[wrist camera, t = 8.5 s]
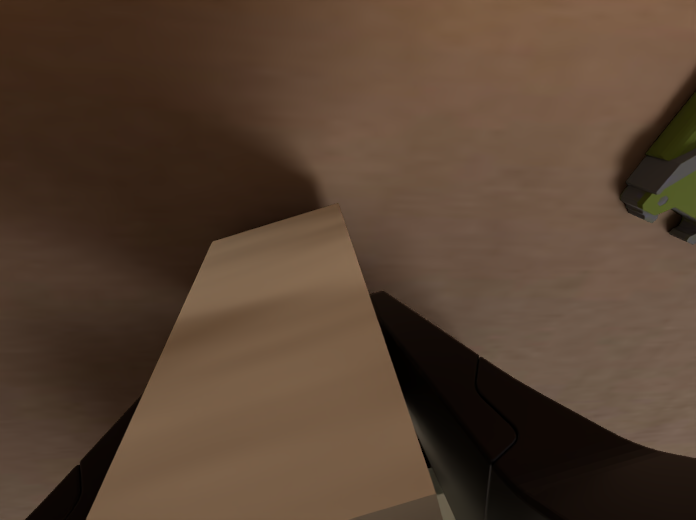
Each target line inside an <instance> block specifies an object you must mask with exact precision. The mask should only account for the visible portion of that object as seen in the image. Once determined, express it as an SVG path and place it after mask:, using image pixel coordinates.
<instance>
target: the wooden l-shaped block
mask: <svg viewBox="0 0 696 520" xmlns="http://www.w3.org/2000/svg"><path fill="white" fill-rule="evenodd" d="M86 520H443V518H442V514H441V510H440V507H439V503H438V499H437V495H436V492H435V489H434V486H433V483H432V480H431V477H430V474H429V471H428V468H427V465H426V462H425V459H424V456H423V453H422V450H421V447H420V444H419V441H418V438H417V435H416V432H415V429H414V426H413V423H412V420H411V417H410V414H409V412H408V409H407V406H406V403H405V400H404V397H403V394H402V391H401V388H400V385H399V382H398V379H397V376H396V373H395V370H394V367H393V364H392V361H391V358H390V355H389V352H388V349H387V346H386V343H385V340H384V337H383V334H382V331H381V328H380V325H379V322H378V320H377V317H376V314H375V311H374V308H373V305H372V302H371V299H370V296H369V293H368V290H367V287H366V284H365V281H364V278H363V275H362V272H361V269H360V266H359V263H358V260H357V257H356V254H355V251H354V248H353V245H352V242H351V239H350V236H349V233H348V230H347V227H346V225H345V222H344V219H343V216H342V213H341V210H340V207H339V204H338V203H336V204H333V205H330V206H327V207H323V208H320V209H317V210H314V211H310V212H307V213H304V214H301V215H297V216H294V217H291V218H288V219H284V220H281V221H278V222H275V223H271V224H268V225H265V226H262V227H258V228H255V229H252V230H248V231H245V232H242V233H239V234H235V235H232V236H229V237H226V238H222V239H219V240H216V241H213V242H212V243H211V246H210V248H209V250H208V252H207V254H206V257H205V259H204V261H203V263H202V265H201V268H200V270H199V272H198V274H197V276H196V279H195V281H194V283H193V285H192V287H191V290H190V292H189V294H188V296H187V298H186V301H185V303H184V305H183V307H182V309H181V312H180V314H179V316H178V318H177V320H176V323H175V325H174V327H173V329H172V331H171V334H170V336H169V338H168V340H167V342H166V345H165V347H164V349H163V351H162V353H161V356H160V358H159V360H158V362H157V364H156V367H155V369H154V371H153V373H152V375H151V378H150V380H149V382H148V384H147V386H146V389H145V391H144V393H143V395H142V397H141V400H140V402H139V404H138V406H137V408H136V411H135V413H134V415H133V417H132V419H131V422H130V424H129V426H128V428H127V430H126V433H125V435H124V437H123V439H122V441H121V444H120V446H119V448H118V450H117V452H116V455H115V457H114V459H113V461H112V463H111V466H110V468H109V470H108V472H107V474H106V477H105V479H104V481H103V483H102V485H101V488H100V490H99V492H98V494H97V496H96V499H95V501H94V503H93V505H92V507H91V510H90V512H89V514H88V516H87V518H86Z"/></svg>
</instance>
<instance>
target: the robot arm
mask: <svg viewBox="0 0 696 520" xmlns="http://www.w3.org/2000/svg"><path fill="white" fill-rule="evenodd" d="M369 296H370V299H371V302H372V305H373V308H374V311H375V314H376V317H377V320H378V322H379V325H380V328H381V331H382V334H383V337H384V340H385V343H386V346H387V349H388V352H389V355H390V358H391V361H392V364H393V367H394V370H395V373H396V376H397V379H398V382H399V385H400V388H401V391H402V394H403V397H404V400H405V403H406V406H407V409H408V412H409V414H410V417H411V420H412V423H413V426H414V429H415V432H416V434H417V436H418V438H419V440H420V443H421V445H422V447H423V449H424V451H425V454H426V456H427V458H428V460H429V462H430V465H431V467H432V469H433V471H434V473H435V476H436V478H437V480H438V482H439V484H440V487H441V489H442V491H443V493H444V495H445V498H446V500H447V502H448V504H449V506H450V509H451V511H452V513H453V515H454V517H455V520H696V458H692V457H687V456H682V455H676V454H671V453H666V452H662V451H658V450H655V449H651V448H648V447H645V446H642V445H640V444H637V443H634V442H632V441H630V440H627V439H625V438H623V437H620V436H618V435H616V434H615V433H613V432H611V431H609V430H607V429H605V428H603V427H601V426H599V425H598V424H596V423H594V422H592V421H590V420H588V419H587V418H585V417H583V416H581V415H579V414H577V413H576V412H574V411H572V410H570V409H568V408H566V407H565V406H563V405H561V404H559V403H557V402H555V401H554V400H552V399H550V398H548V397H546V396H544V395H543V394H541V393H539V392H537V391H536V390H534V389H532V388H530V387H529V386H527V385H525V384H523V383H522V382H520V381H518V380H516V379H515V378H513V377H512V376H510V375H509V374H507V373H505V372H504V371H502V370H501V369H499V368H498V367H496V366H494V365H493V364H492V363H490V362H489V361H487V360H486V359H484V358H483V357H480V358H479V355H478V354H476V353H475V352H474V351H472V350H471V349H469V348H468V347H466V346H465V345H463V344H462V343H460V342H459V341H457V340H456V339H454V338H453V337H451V336H450V335H448V334H447V333H445V332H444V331H442V330H441V329H439V328H438V327H436V326H435V325H433V324H432V323H431V322H429V321H428V320H426V319H425V318H423V317H422V316H420V315H419V314H417V313H416V312H414V311H413V310H411V309H410V308H408V307H407V306H405V305H404V304H402V303H401V302H399V301H398V300H396V299H395V298H393V297H392V296H390V295H389V294H388V293H386V292H384V291H380V292H376V293H372V294H370V295H369ZM142 395H143V394H142ZM142 395H141V396H140V397H139V398H138V399H137V400H136V402H135V403H134V404H133V405H132V406H131V407H130V408H129V409H128V410H127V411H126V412H125V413H124V415H123V416H122V417H121V418H120V419H119V420H118V421H117V422H116V423H115V424H114V425H113V426H112V428H111V429H110V430H109V431H108V432H107V433H106V434H105V435H104V436H103V437H102V438H101V439H100V440H99V442H98V443H97V444H96V445H95V446H94V447H93V448H92V449H91V450H90V451H89V452H88V453H87V455H86V456H85V457H84V458H83V459H82V460H81V461H80V465H77V466H75V467H74V468H73V470H72V471H71V472H70V473H69V474H68V475H67V476H66V477H65V478H64V479H63V480H62V481H61V483H60V484H59V485H58V486H57V487H56V488H55V489H54V490H53V491H52V492H51V493H50V494H49V495H48V496H47V497H46V498H45V499H44V500H43V502H42V503H41V504H40V505H39V506H38V507H37V508H36V509H35V510H34V511H33V512H32V513H31V514H30V515H29V516H28V517H27V518H26V519H25V520H86V518H87V516H88V514H89V512H90V510H91V507H92V505H93V503H94V501H95V499H96V496H97V494H98V492H99V490H100V488H101V485H102V483H103V481H104V479H105V477H106V474H107V472H108V470H109V468H110V466H111V463H112V461H113V459H114V457H115V455H116V452H117V450H118V448H119V446H120V444H121V441H122V439H123V437H124V435H125V433H126V430H127V428H128V426H129V424H130V422H131V419H132V417H133V415H134V413H135V411H136V408H137V406H138V404H139V402H140V400H141V397H142Z"/></svg>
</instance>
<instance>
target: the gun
mask: <svg viewBox="0 0 696 520" xmlns="http://www.w3.org/2000/svg"><path fill="white" fill-rule="evenodd" d="M645 155H646V157H645V158H644V159H643V160H642V162H641V163H640V164H639V165H638V167H637V168H636V169H635V171H634V172H633V173H632V174H631V176H630V177H629V178H628V179H627V181H626V184H627V185H628V186H627V187H626V189H625V190H624V191H623V192H622V193H623V194H621V195H620V196H621V197H620V200H621V201H623V202H624V203H626V208H628V213H630V214H632V215H635V216H637V217H639V218H641V219H644V220H646V221H648V222H650V223H653V222H654V221H655V220H656V219H657V217H658V214H660V213H662V212H665V211H667V210H669V209H671V210H672V209H673V210H675V211H677V212H678V214H679V213H680V215H682V216H683V217H682V220H681V223H680V225H679V226H677V227H676V228H673V229H672V230H671V231H670V232H669V234H671V235H673V236H675V237H677V238H679V239H682V240H684V241H686V242H688V243H691V244H695V243H696V92H695V93H694V94H693V95H692V96H691V98H690V99H689V100H688V101H687V103H686V104H685V105H684V106H683V108H682V109H681V110H680V111H679V112H678V114H677V115H676V116H675V117H674V119H673V120H672V121H671V122H670V124H669V125H668V126H667V127H666V129H665V130H664V131H663V132H662V134H661V135H660V136H659V137H658V139H657V140H656V141H655V142H654V144H653V145H652V146H651V147H650V149H649V150H648V151H647V152H646V154H645ZM677 212H676V213H677Z"/></svg>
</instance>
